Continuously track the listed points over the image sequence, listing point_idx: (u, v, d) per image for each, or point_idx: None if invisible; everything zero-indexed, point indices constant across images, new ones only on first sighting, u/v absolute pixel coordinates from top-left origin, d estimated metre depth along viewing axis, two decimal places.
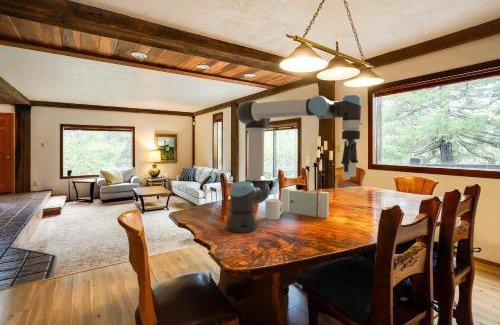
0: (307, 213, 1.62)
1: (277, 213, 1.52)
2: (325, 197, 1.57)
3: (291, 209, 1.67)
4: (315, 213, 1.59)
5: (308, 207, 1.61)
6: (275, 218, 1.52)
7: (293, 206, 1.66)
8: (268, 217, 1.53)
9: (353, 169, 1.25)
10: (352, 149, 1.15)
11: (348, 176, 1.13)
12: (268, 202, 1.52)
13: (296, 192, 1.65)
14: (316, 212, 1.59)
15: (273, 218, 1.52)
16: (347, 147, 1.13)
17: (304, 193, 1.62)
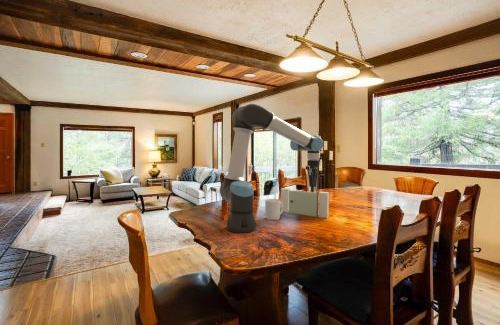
0: (307, 213, 1.62)
1: (277, 213, 1.52)
2: (325, 197, 1.57)
3: (291, 209, 1.67)
4: (315, 213, 1.59)
5: (308, 207, 1.61)
6: (275, 218, 1.52)
7: (293, 206, 1.66)
8: (268, 217, 1.53)
9: None
10: (314, 175, 1.66)
11: None
12: (268, 202, 1.52)
13: (296, 192, 1.65)
14: (316, 212, 1.59)
15: (273, 218, 1.52)
16: (310, 176, 1.64)
17: (304, 193, 1.62)
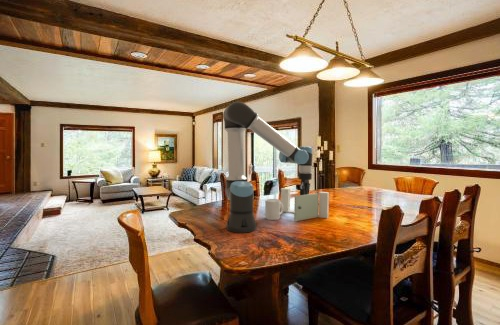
0: (311, 216, 1.55)
1: (277, 213, 1.52)
2: (325, 197, 1.57)
3: (298, 216, 1.49)
4: (316, 213, 1.58)
5: (312, 209, 1.55)
6: (275, 218, 1.52)
7: (300, 212, 1.50)
8: (268, 217, 1.53)
9: None
10: (306, 189, 1.55)
11: None
12: (268, 202, 1.52)
13: (302, 196, 1.50)
14: (317, 212, 1.58)
15: (273, 218, 1.52)
16: (302, 190, 1.53)
17: (308, 196, 1.53)
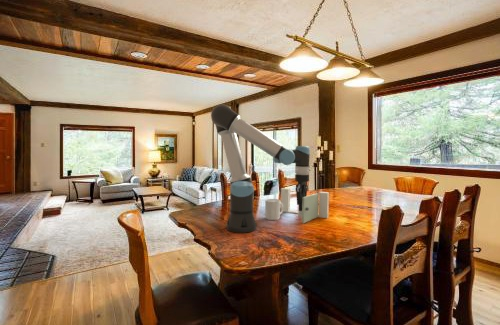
0: (313, 216, 1.54)
1: (277, 213, 1.52)
2: (325, 197, 1.57)
3: (305, 218, 1.46)
4: (317, 213, 1.58)
5: (314, 210, 1.54)
6: (275, 218, 1.52)
7: (306, 214, 1.47)
8: (268, 217, 1.53)
9: (301, 210, 1.47)
10: (303, 192, 1.45)
11: None
12: (268, 202, 1.52)
13: (308, 197, 1.48)
14: (317, 212, 1.58)
15: (273, 218, 1.52)
16: (298, 193, 1.43)
17: (312, 196, 1.52)
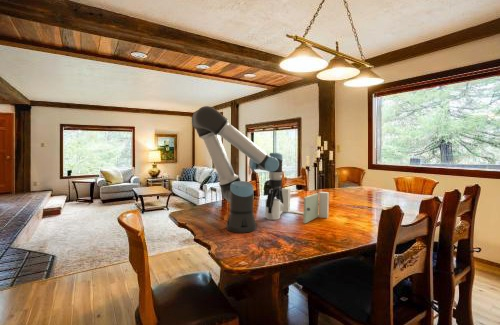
0: (314, 216, 1.54)
1: (277, 213, 1.53)
2: (325, 197, 1.57)
3: (307, 218, 1.46)
4: (317, 213, 1.58)
5: (314, 210, 1.54)
6: (275, 218, 1.52)
7: (308, 214, 1.46)
8: None
9: None
10: (275, 195, 1.52)
11: (272, 216, 1.51)
12: None
13: (309, 197, 1.47)
14: (317, 212, 1.59)
15: (273, 218, 1.52)
16: (270, 194, 1.50)
17: (313, 197, 1.52)
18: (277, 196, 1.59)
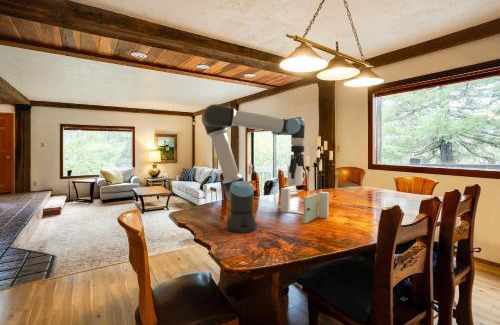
0: (314, 216, 1.54)
1: (300, 179, 1.52)
2: (325, 197, 1.57)
3: (307, 218, 1.46)
4: (317, 213, 1.58)
5: (314, 210, 1.54)
6: (298, 183, 1.52)
7: (308, 214, 1.46)
8: None
9: None
10: (297, 160, 1.52)
11: (294, 181, 1.50)
12: None
13: (309, 197, 1.47)
14: (317, 212, 1.59)
15: (296, 183, 1.52)
16: (293, 160, 1.49)
17: (313, 197, 1.52)
18: (299, 163, 1.58)
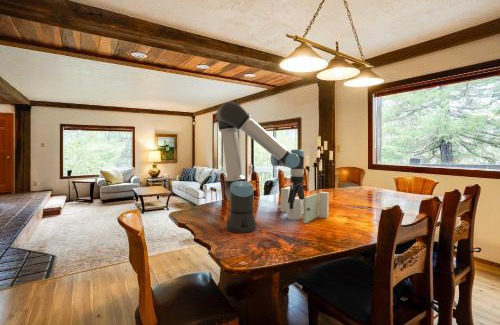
0: (314, 216, 1.54)
1: (299, 213, 1.53)
2: (325, 197, 1.57)
3: (307, 218, 1.46)
4: (317, 213, 1.58)
5: (314, 210, 1.54)
6: (297, 218, 1.53)
7: (308, 214, 1.46)
8: (290, 217, 1.53)
9: None
10: (296, 191, 1.52)
11: (293, 212, 1.50)
12: None
13: (309, 197, 1.47)
14: (317, 212, 1.59)
15: (295, 218, 1.53)
16: (292, 190, 1.50)
17: (313, 197, 1.52)
18: (298, 192, 1.60)
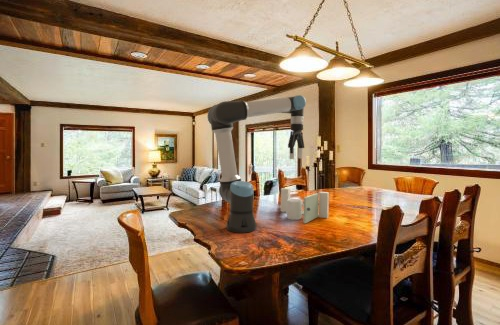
0: (314, 216, 1.54)
1: (299, 213, 1.53)
2: (325, 197, 1.57)
3: (307, 218, 1.46)
4: (317, 213, 1.58)
5: (314, 210, 1.54)
6: (297, 218, 1.53)
7: (308, 214, 1.46)
8: (290, 217, 1.53)
9: (300, 153, 1.68)
10: (296, 137, 1.58)
11: (293, 156, 1.56)
12: (290, 202, 1.53)
13: (309, 197, 1.47)
14: (317, 212, 1.59)
15: (295, 218, 1.53)
16: (292, 135, 1.56)
17: (313, 197, 1.52)
18: (298, 141, 1.66)
